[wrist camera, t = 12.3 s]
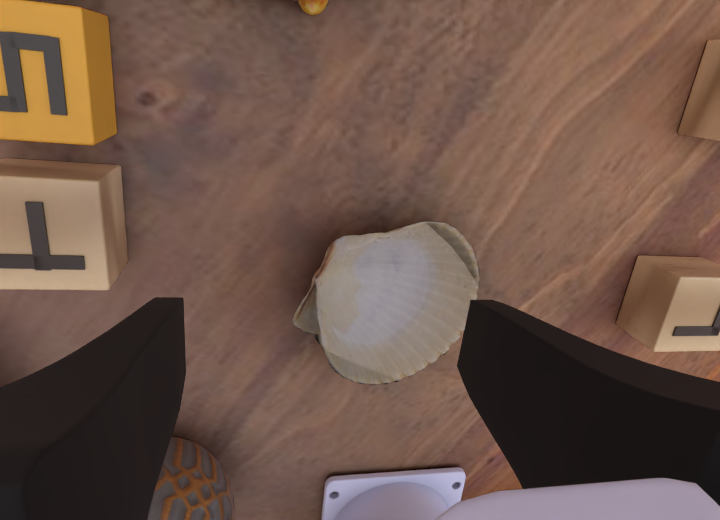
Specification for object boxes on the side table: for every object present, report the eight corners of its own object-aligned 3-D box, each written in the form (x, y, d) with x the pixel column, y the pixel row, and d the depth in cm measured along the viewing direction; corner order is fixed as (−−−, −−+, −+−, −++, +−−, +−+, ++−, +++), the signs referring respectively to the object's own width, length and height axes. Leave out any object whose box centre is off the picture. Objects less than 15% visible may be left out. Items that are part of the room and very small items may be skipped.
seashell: (398, 353, 26) (503, 249, 23) (413, 400, 24) (533, 293, 20) (262, 304, 22) (365, 169, 19) (265, 356, 20) (383, 213, 16)
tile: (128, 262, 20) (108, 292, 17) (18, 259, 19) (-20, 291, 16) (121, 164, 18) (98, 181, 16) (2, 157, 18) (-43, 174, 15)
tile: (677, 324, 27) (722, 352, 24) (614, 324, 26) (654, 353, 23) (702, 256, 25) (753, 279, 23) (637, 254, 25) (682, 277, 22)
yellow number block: (118, 134, 18) (93, 146, 15) (-5, 125, 17) (-52, 136, 15) (108, 15, 17) (79, 6, 14) (-25, -1, 16) (-82, -14, 13)
